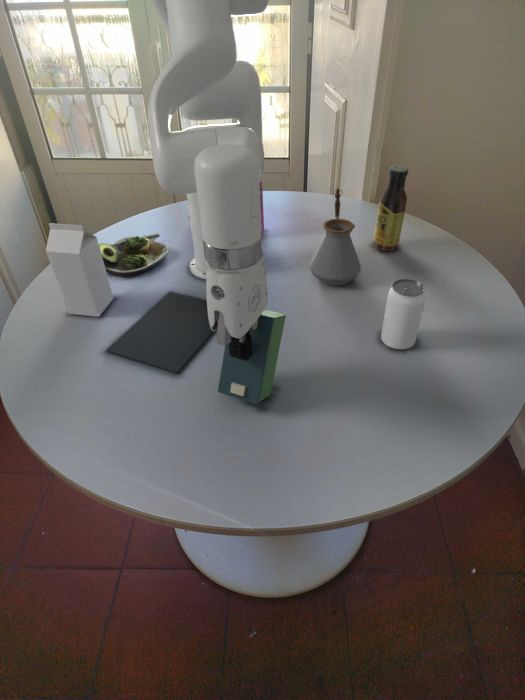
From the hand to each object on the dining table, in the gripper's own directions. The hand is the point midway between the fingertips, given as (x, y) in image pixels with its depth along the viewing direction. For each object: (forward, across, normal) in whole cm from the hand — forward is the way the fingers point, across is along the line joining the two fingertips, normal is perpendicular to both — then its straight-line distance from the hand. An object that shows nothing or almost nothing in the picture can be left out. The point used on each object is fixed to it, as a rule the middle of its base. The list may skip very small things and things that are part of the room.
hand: (241, 355), depth 72 cm
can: (+10, +26, -20) cm, 34 cm away
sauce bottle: (+10, +62, -9) cm, 63 cm away
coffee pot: (+10, +48, 0) cm, 49 cm away
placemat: (+10, +12, +22) cm, 27 cm away
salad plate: (+10, +32, +48) cm, 59 cm away
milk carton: (+10, +12, +43) cm, 46 cm away
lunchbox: (+8, 0, 0) cm, 9 cm away
